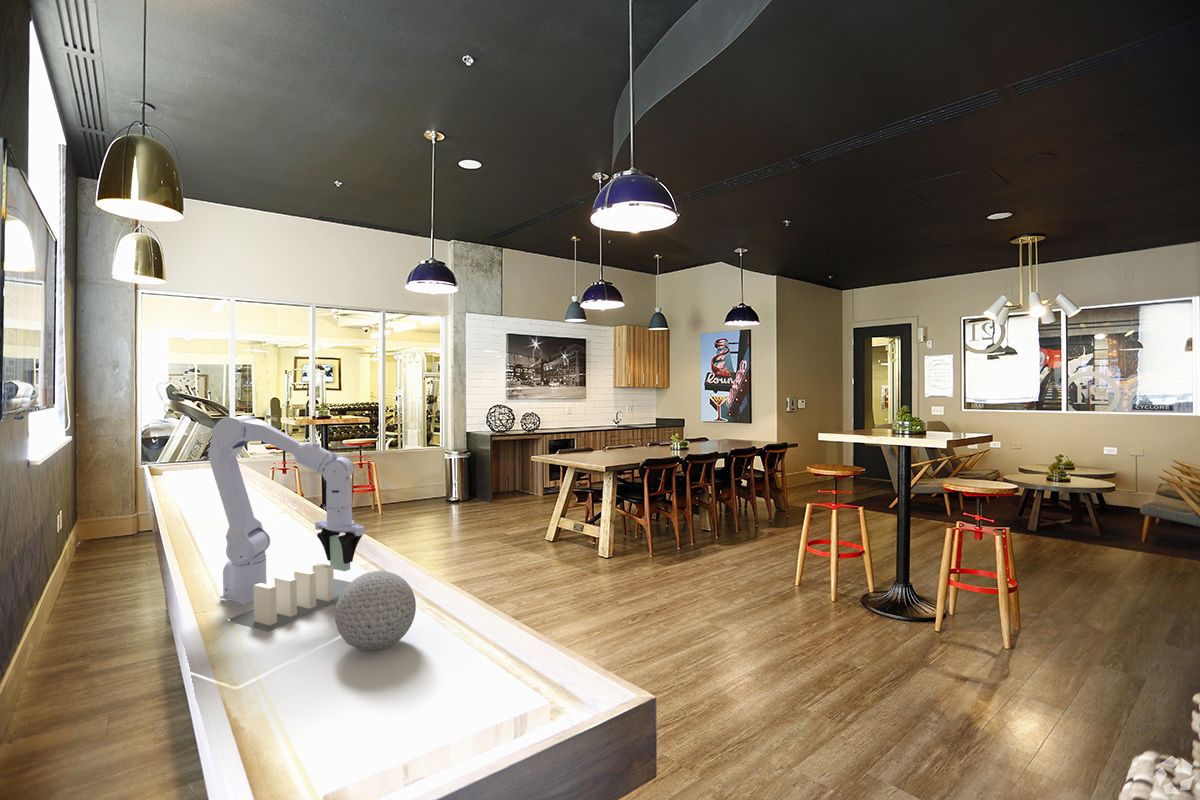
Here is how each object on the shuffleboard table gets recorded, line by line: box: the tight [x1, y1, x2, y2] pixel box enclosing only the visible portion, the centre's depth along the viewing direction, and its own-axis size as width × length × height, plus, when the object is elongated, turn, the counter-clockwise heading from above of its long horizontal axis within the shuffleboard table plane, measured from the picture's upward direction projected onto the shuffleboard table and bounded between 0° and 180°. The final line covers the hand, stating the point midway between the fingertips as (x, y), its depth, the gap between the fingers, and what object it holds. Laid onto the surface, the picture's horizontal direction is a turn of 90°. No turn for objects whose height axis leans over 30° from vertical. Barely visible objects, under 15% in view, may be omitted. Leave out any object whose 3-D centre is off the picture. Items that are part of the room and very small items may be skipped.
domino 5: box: [329, 535, 351, 572], centre depth 146 cm, size 2×5×8 cm, turn 66°
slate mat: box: [228, 578, 352, 633], centre depth 140 cm, size 14×29×1 cm, turn 156°
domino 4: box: [312, 562, 334, 601], centre depth 142 cm, size 2×5×8 cm, turn 66°
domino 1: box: [253, 583, 277, 625], centre depth 128 cm, size 2×5×8 cm, turn 66°
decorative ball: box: [334, 570, 417, 652], centre depth 118 cm, size 15×15×15 cm
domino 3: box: [293, 568, 316, 609], centre depth 137 cm, size 2×5×8 cm, turn 66°
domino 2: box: [274, 575, 297, 617], centre depth 133 cm, size 2×5×8 cm, turn 66°
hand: (340, 561), depth 146 cm, fingers closed on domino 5, 5 cm apart
